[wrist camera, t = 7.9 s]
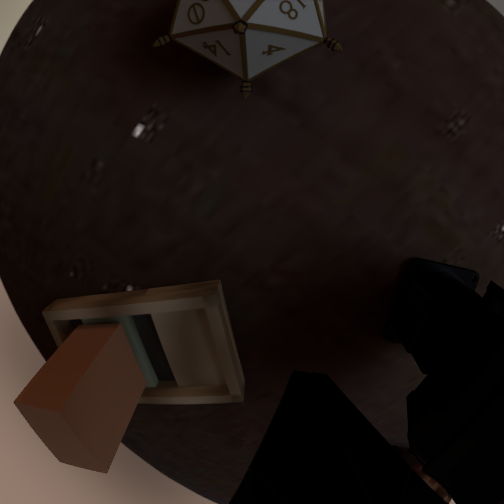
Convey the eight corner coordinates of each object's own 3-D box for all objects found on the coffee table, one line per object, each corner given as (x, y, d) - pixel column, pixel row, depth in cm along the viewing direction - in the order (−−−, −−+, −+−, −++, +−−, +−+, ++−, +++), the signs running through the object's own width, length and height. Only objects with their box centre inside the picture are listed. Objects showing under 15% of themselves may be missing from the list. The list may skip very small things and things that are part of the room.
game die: (266, 71, 19) (258, 160, 14) (161, 11, 15) (89, 71, 10) (355, -14, 13) (414, 27, 8) (242, -91, 9) (210, -120, 4)
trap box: (220, 279, 21) (214, 294, 18) (245, 382, 23) (243, 401, 21) (55, 299, 22) (41, 311, 20) (96, 384, 25) (86, 399, 23)
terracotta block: (121, 322, 20) (58, 411, 12) (146, 382, 22) (106, 473, 14) (78, 325, 21) (13, 402, 12) (105, 381, 23) (60, 462, 14)
